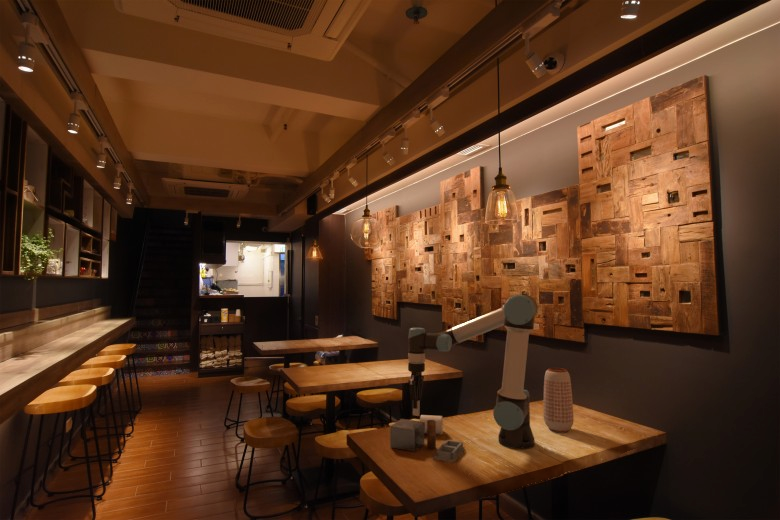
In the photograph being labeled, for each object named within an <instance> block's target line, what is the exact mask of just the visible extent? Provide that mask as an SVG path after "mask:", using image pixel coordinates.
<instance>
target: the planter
mask: <svg viewBox="0 0 780 520" xmlns="http://www.w3.org/2000/svg"><path fill="white" fill-rule="evenodd" d="M571 381H572V380H571V375H570V373H569V372H568V370H567V369H565V368H561V367H549V368H548V369H547V370H545V374H544V380H543V421H544V423H545V426H546V427H547V428H548V429H549V430H550V431H552V432H557V433H567V432H569V430H571V428H572V427H573V425H574V421H575V419H574V402H573V389H572V382H571Z"/></svg>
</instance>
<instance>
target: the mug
mask: <svg viewBox="0 0 780 520" xmlns="http://www.w3.org/2000/svg"><path fill="white" fill-rule="evenodd" d="M428 420H435V421H436V435H440V436H442V435H443V432H444V431H443V430H444V429H443V428H444V427H443V426H444V419H443V415H429V414H421V415H420V416H419V421H420V422H425V431H424V434H425V435H427V421H428Z"/></svg>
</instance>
